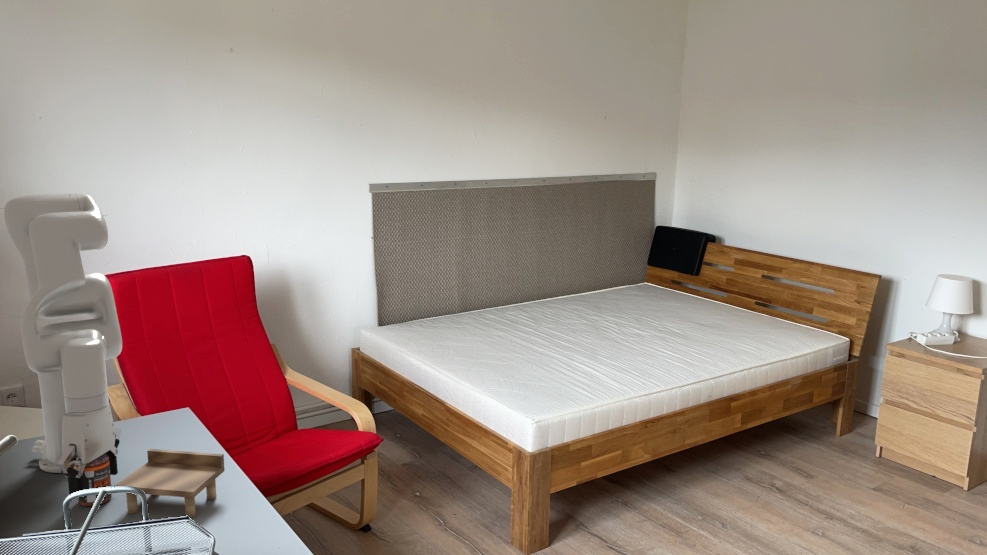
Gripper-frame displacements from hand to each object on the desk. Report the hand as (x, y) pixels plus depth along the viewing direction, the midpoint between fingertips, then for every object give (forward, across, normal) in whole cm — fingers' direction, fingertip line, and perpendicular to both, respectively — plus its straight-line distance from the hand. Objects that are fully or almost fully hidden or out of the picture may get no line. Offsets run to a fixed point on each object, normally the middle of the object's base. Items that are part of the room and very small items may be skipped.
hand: (94, 484), depth 153 cm
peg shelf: (+4, -1, +16) cm, 16 cm away
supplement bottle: (+4, 0, 0) cm, 4 cm away
